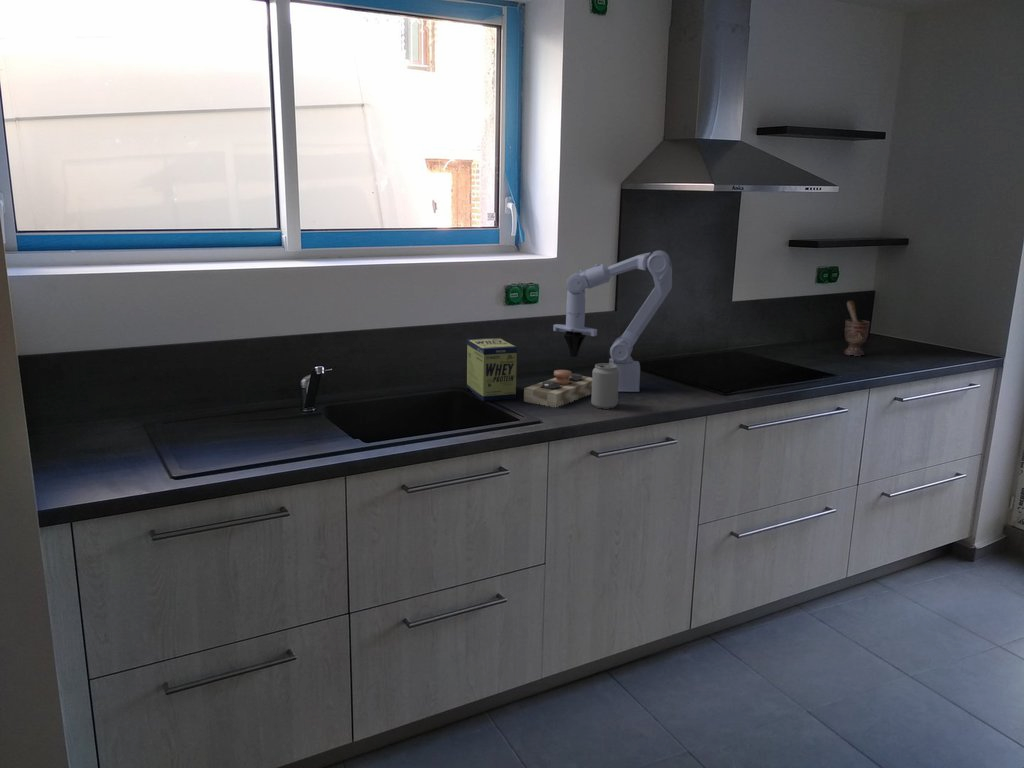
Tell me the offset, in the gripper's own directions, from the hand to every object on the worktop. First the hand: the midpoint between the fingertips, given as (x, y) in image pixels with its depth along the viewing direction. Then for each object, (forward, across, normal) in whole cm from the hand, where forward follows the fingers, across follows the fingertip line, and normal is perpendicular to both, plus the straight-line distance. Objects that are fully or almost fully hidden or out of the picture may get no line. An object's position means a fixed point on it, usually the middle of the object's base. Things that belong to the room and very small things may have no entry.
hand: (573, 356), depth 256 cm
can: (+10, +19, -15) cm, 26 cm away
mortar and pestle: (+10, +56, +112) cm, 126 cm away
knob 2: (+9, +4, -7) cm, 12 cm away
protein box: (+10, -14, -24) cm, 30 cm away
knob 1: (+9, +4, -20) cm, 22 cm away
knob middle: (+6, +4, -13) cm, 15 cm away
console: (+9, +4, -13) cm, 17 cm away
